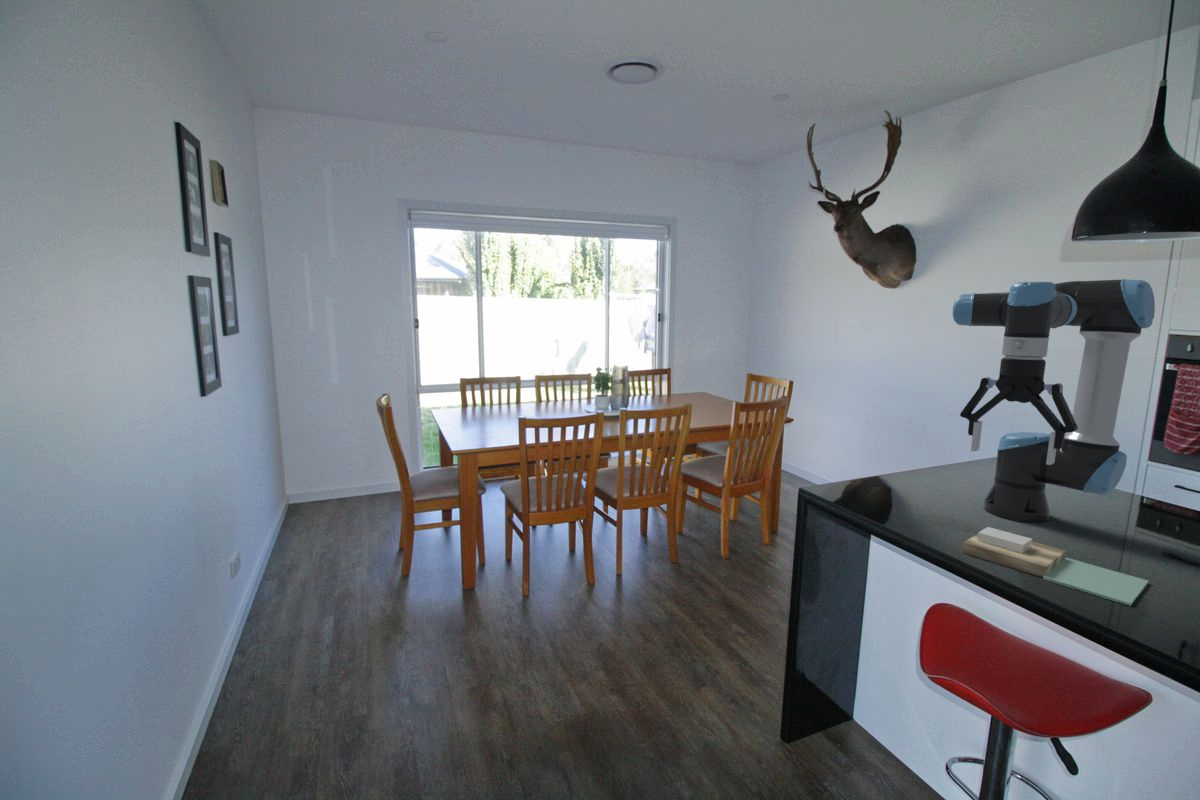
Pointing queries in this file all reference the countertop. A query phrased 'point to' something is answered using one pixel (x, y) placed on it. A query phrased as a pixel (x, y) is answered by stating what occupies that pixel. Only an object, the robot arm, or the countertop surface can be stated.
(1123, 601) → the mat
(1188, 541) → the countertop surface
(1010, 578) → the countertop surface
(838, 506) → the countertop surface
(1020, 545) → the white rectangular block
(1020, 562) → the wooden board
